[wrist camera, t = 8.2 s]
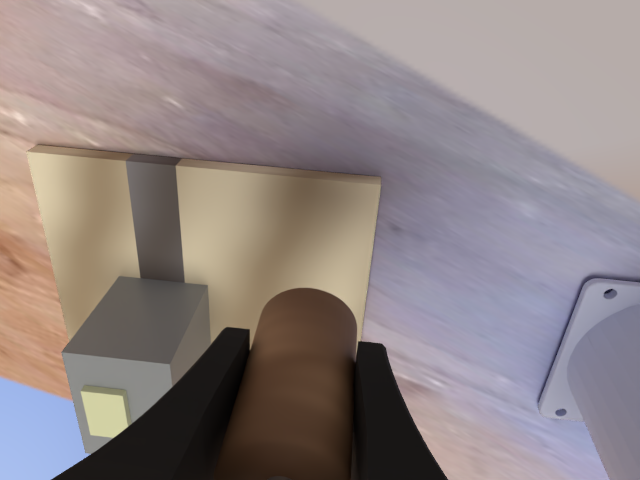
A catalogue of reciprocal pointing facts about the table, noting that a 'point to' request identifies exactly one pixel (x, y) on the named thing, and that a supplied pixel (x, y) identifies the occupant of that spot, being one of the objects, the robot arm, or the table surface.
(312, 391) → the awl
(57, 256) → the plywood panel
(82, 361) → the block
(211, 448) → the robot arm
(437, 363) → the table surface
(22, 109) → the table surface
